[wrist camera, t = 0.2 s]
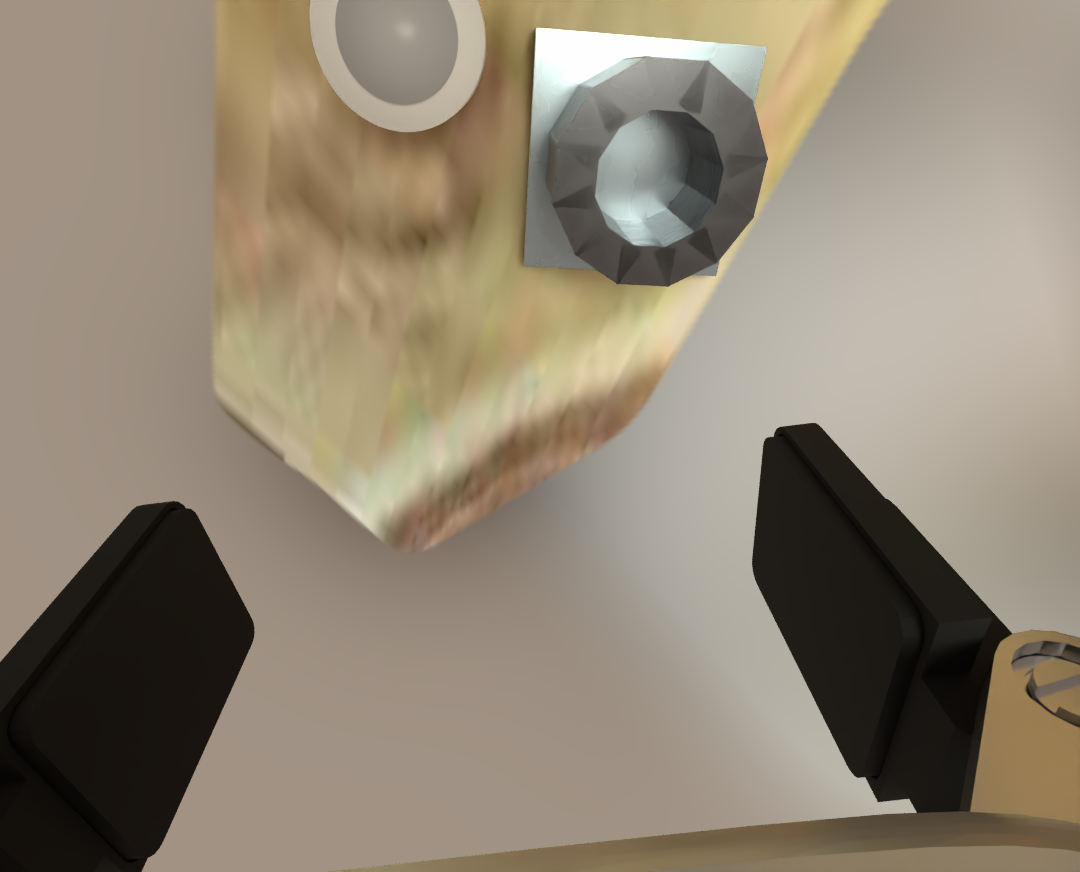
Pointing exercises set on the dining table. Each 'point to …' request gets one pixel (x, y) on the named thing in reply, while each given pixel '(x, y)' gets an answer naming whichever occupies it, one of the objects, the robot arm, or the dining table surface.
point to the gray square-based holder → (641, 154)
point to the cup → (401, 57)
